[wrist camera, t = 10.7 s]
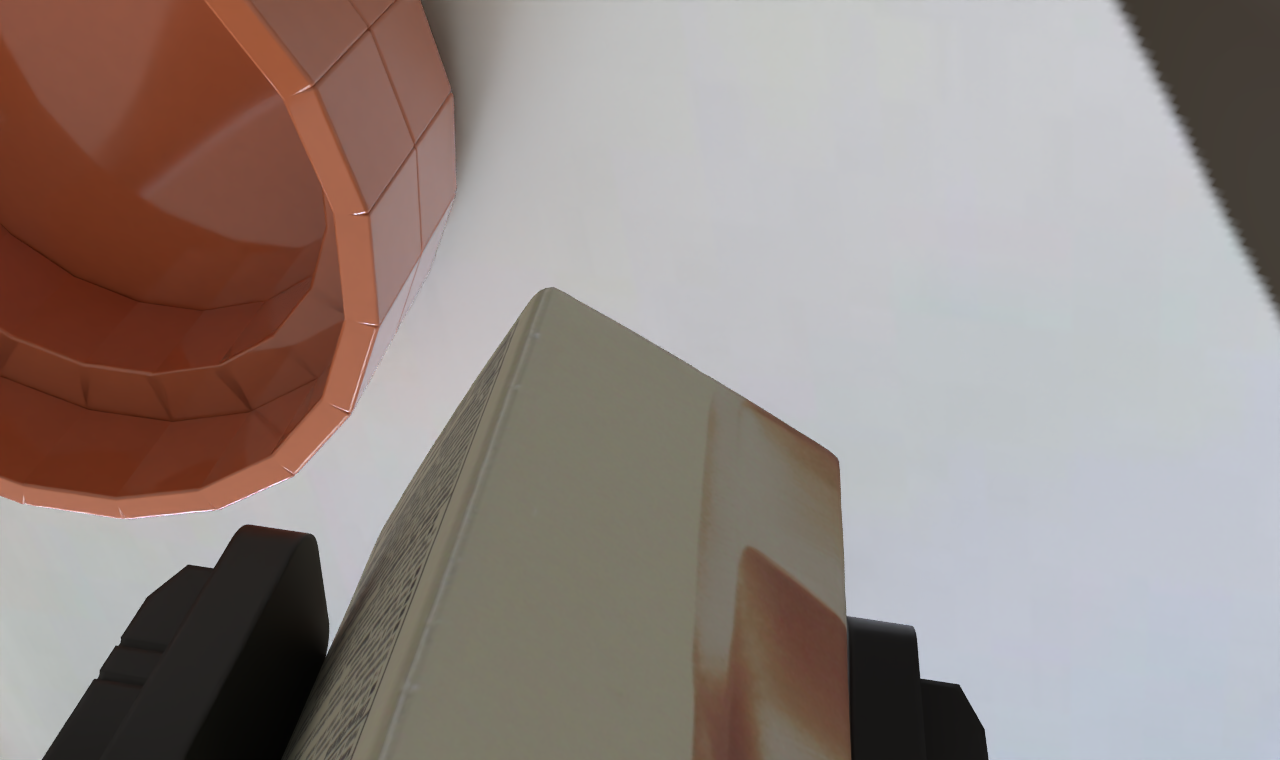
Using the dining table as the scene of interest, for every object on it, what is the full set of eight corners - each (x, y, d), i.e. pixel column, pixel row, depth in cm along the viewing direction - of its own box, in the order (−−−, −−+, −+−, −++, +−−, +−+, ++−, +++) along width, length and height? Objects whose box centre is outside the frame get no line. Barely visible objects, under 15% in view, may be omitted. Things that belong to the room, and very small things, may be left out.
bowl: (-65, 317, 27) (-238, 466, 23) (-306, -326, 19) (-645, -288, 15) (471, 392, 26) (399, 562, 22) (453, -248, 18) (335, -184, 14)
